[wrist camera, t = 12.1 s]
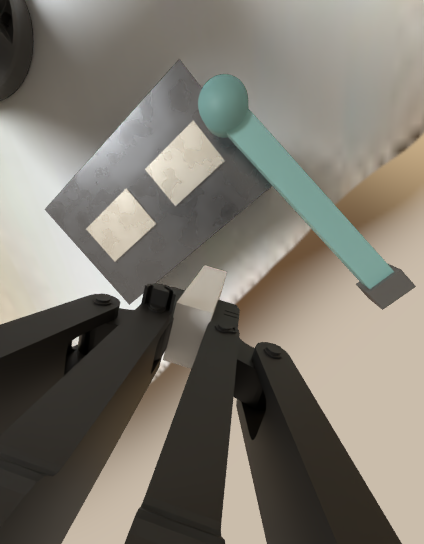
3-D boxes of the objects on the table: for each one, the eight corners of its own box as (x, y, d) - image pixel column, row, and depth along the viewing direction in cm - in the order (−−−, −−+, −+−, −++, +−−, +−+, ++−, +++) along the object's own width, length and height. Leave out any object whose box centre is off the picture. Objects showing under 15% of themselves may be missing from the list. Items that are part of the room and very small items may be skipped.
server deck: (72, 208, 36) (25, 210, 29) (197, 74, 30) (179, 32, 23) (144, 291, 38) (118, 313, 30) (278, 180, 32) (286, 173, 24)
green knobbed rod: (195, 115, 24) (188, 104, 22) (226, 78, 23) (223, 61, 20) (365, 301, 26) (378, 312, 24) (402, 274, 25) (420, 283, 22)
